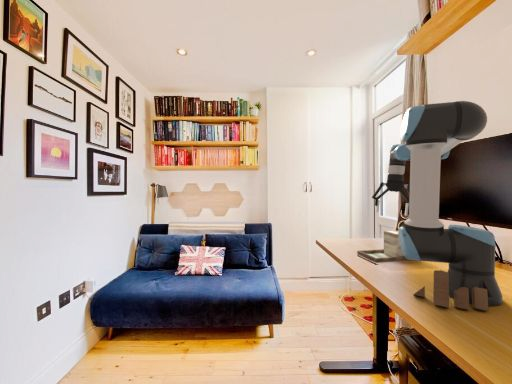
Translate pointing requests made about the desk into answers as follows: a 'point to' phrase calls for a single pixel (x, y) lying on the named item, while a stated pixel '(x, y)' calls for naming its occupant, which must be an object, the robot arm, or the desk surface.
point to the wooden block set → (455, 294)
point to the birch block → (392, 244)
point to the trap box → (378, 256)
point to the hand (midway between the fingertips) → (391, 213)
